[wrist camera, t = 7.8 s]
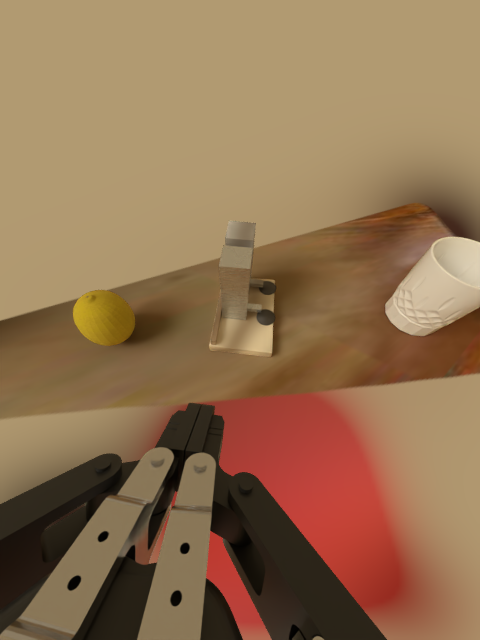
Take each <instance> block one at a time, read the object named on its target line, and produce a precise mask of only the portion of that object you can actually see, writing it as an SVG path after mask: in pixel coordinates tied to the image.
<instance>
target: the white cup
mask: <svg viewBox="0 0 480 640" xmlns="http://www.w3.org/2000/svg"><path fill="white" fill-rule="evenodd" d="M479 307H480V242H477V241H474V240H471V239H467V238H460V237H445V238H441V239H438V240H437V241H435V242H434V243H433V244H432V246H431V247H430V248H429V249H428V250H427V252H426V253H425V254H424V255H423V257H422V258H421V259H420V260H419V261H418V263H417V264H416V265H415V266H414V267H413V268H412V270H411V271H410V272H409V273H408V275H407V276H406V277H405V279H404V280H403V281H402V282H401V284H400V285H399V286H398V287H397V289H396V291H395V293H394V294H393V295H392V296H391V298H390V299H389V300H388V301H387V303H386V304H385V313H386V315H387V317H388V318H389V320H390V322H391V323H392V324H394V325H395V326H396V327H397V328H398V329H399V330H401V331H403V332H406V333H408V334H410V335H415V336H426V335H428V334H431V333H433V332H435V331H437V330H438V329H440V328H442V327H443V326H446V325H449V324H450V323H452V322H454V321H456V320H457V319H459V318H461V317H463V316H465V315H466V314H468V313H470V312H472V311H474V310H475V309H477V308H479Z"/></svg>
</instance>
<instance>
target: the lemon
mask: <svg viewBox="0 0 480 640" xmlns="http://www.w3.org/2000/svg"><path fill="white" fill-rule="evenodd" d="M73 317H74V322H75V324H76V326H77V327H78V329H79V330H80V332H81V333H82V334H83V335H84V336H85V337H86V338H88V339H89V340H90V341H92V342H94V343H97V344H100V345H106V346H111V345H117V344H119V343H122V342H123V341H125V340H126V339H127V338H129V337H130V335H131V334H132V332H133V330H134V327H135V317H134V313H133V311H132V309H131V308H130V306H129V305H128V303H127V302H126V301H125V300H123V299H122V298H121V297H120V296H118V295H117V294H115V293H113V292H110V291H106V290H95V291H91V292H88V293H86V294H84V295H83V296H81V297H80V298H79V299H78V301H77V302H76V304H75V306H74V309H73Z"/></svg>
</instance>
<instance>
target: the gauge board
mask: <svg viewBox="0 0 480 640" xmlns="http://www.w3.org/2000/svg"><path fill="white" fill-rule="evenodd" d="M255 225H256V223H248V222H237V221H229V224H228V229H227V233H226V237H225V243H226V245H227V246H237V247H248V248H254V236H255ZM252 259H253V250H252ZM251 270H252V262H251ZM275 291H276V285H275V280H269V279H259V278H251V274H250V285H249V297H248V303H250V304H260V305H262V308H261V312H251V311H247V315H246V320H239V319H229V318H223V316H222V303H221V290H220V295H219V300H218V305H217V310H216V315H215V320H214V325H213V330H212V334H211V339H210V344H209V348H210V350H211V351H220V352H229V353H238V354H247V355H256V356H265V357H271V355H272V342H273V322H274V321H275V315H274V292H275Z"/></svg>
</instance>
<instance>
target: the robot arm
mask: <svg viewBox="0 0 480 640" xmlns="http://www.w3.org/2000/svg"><path fill="white" fill-rule="evenodd" d="M214 410H215V406H212V405H204V404H196V403H189V404H188V407H187V409H186V411H177V412H176V413H175V414H174V415H172V417H171V419H170V421H169V423H168V424H167V426H166V429H165V430H164V432H163V434H162V435H161V437H160V439H159V441H158V443H157V445H156V447H155V448H154V449H151V450H150V451H148V452H147V453H146V454H145V455H144V456H143V458H142V459H141V460H138V461H133V462H126V463H122V460H121V458H120V457H119V456H118V455H116V454H103V455H100V456H98V457H96V458H94V459H92V460H90V461H88V462H86V463H84V464H82V465H79V466H78V467H75V468H74V469H71V470H69V471H67V472H65V473H63V474H61V475H59V476H57V477H55V478H53V479H51V480H49V481H47V482H45V483H43V484H41V485H39V486H37V487H35V488H33V489H31V490H29V491H27V492H24V493H22V494H21V495H18V496H16V497H14V498H12V499H10V500H8V501H6V502H4V503H2V504H0V640H243V639H242V636H241V634H240V631H239V629H238V626H237V624H236V621H235V619H234V616H233V614H232V611H231V609H230V607H229V605H228V603H227V601H226V599H225V598H224V596H223V595H222V593H221V592H220V590H219V589H218V588H217V587H216V586H215V585H214V584H213V583H212V582H211V581H209V580H208V579H207V578H206V571H207V560H208V549H209V537H210V531H212V532H213V533H215V534H217V535H219V536H221V537H222V538H223V543H224V546H225V548H226V550H227V552H228V554H229V556H230V558H231V560H232V562H233V564H234V566H235V568H236V570H237V572H238V574H239V576H240V578H241V580H242V581H243V583H244V585H245V587H246V589H247V591H248V593H249V595H250V597H251V599H252V601H253V603H254V605H255V607H256V609H257V611H258V613H259V615H260V617H261V619H262V621H263V623H264V625H265V626H266V629H267V631H268V632H269V634H270V636H271V638H272V640H387V639H386V638H385V637H384V635H383V634H382V633H381V632H380V630H379V629H378V628H377V627H376V625H375V624H374V623H373V622H372V620H371V619H370V618H369V617H368V615H367V614H366V613H365V612H364V610H363V609H362V608H361V607H360V605H359V604H358V603H357V602H356V600H355V599H354V598H353V597H352V596H351V594H350V593H349V592H348V590H347V589H346V588H345V587H344V585H343V584H342V583H341V582H340V580H339V579H338V578H337V577H336V575H335V574H334V573H333V572H332V570H331V569H330V568H329V567H328V566H327V564H326V563H325V562H324V561H323V559H322V558H321V557H320V556H319V554H318V553H317V552H316V551H315V549H314V548H313V547H312V546H311V544H309V542H308V541H307V540H306V538H305V537H304V536H303V534H302V533H301V532H300V531H299V529H298V528H297V527H296V526H295V524H294V523H293V522H292V521H291V519H290V518H289V517H288V516H287V514H286V513H285V512H284V511H283V509H282V508H281V507H280V506H279V505H278V503H277V502H276V501H275V499H274V498H273V497H272V496H271V494H270V493H269V492H268V491H267V489H266V488H265V487H264V486H263V484H262V483H261V482H260V481H259V479H258V478H257V477H255V476H254V475H252V474H250V473H247V472H242V473H238V474H236V475H234V476H231V475H229V474H227V473H225V472H224V471H223V470H222V469H221V468H220V466H219V458H220V452H221V447H222V439H223V429H224V420H223V418H222V416H218V415H214ZM175 491H176V492H178V493H177V498H176V502H175V505H174V506H173V507H172V509H171V502H172V499H173V496H174V493H175ZM84 503H85V506H84V507H82V508H80V509H79V510H77V511H76V512H74V513H72V514H71V515H69V516H67V517H66V518H65V519H63V520H61V521H59V522H58V523H56V524H54V525H53V526H51V527H49V528H48V529H46V530H45V528H46V527H47V526H49V525H50V524H51V523H52V522H54V521H56V520H57V519H59V518H61V517H63V516H64V515H66V514H67V513H69V512H71V511H72V510H74V509H76V508H77V507H79V506H81V505H82V504H84ZM170 509H171V512H170V515H169V519H168V523H167V527H166V531H165V534H164V538H163V542H162V546H161V550H160V554H159V558H158V561H157V563H152V564H149V560H150V558H151V555H152V552H153V550H154V548H155V545H156V543H157V540H158V538H159V535H160V533H161V531H162V528H163V526H164V523H165V521H166V518H167V516H168V514H169V511H170Z"/></svg>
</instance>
